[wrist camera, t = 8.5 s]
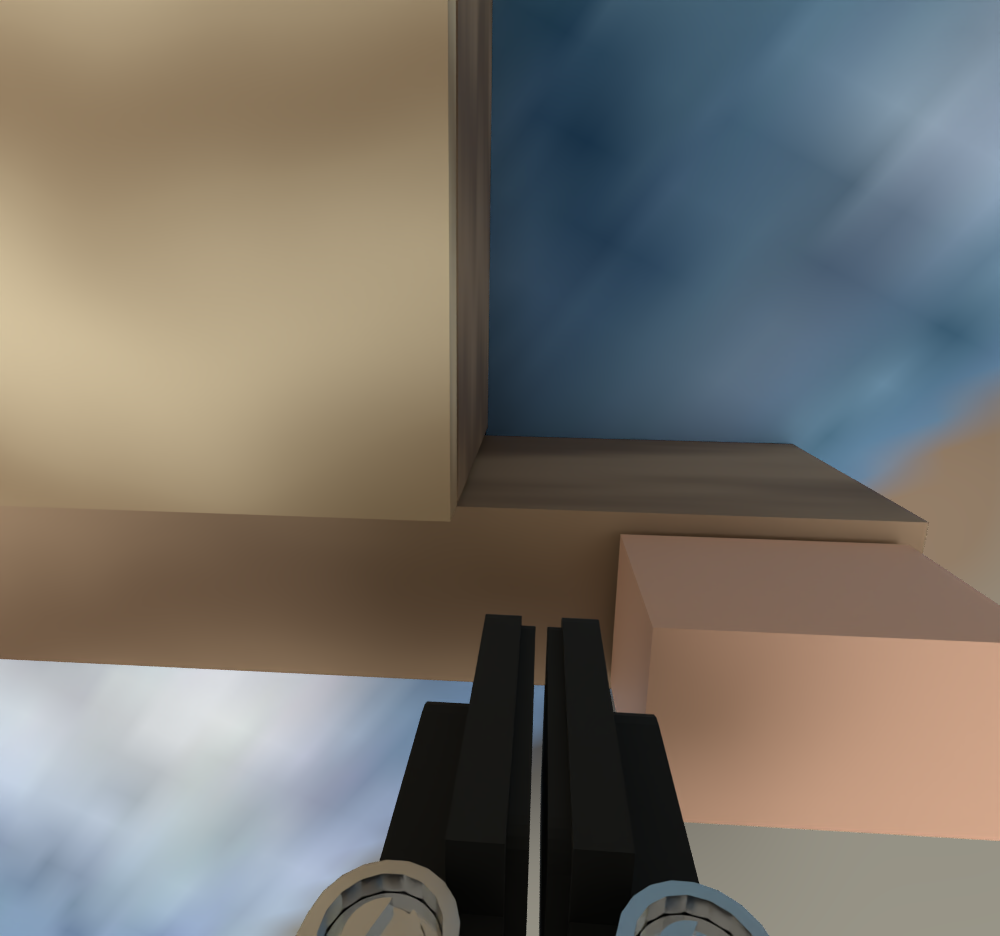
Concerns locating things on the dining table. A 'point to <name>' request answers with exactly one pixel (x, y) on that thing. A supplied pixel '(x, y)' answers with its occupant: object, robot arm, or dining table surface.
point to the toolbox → (414, 523)
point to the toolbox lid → (229, 256)
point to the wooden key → (813, 683)
